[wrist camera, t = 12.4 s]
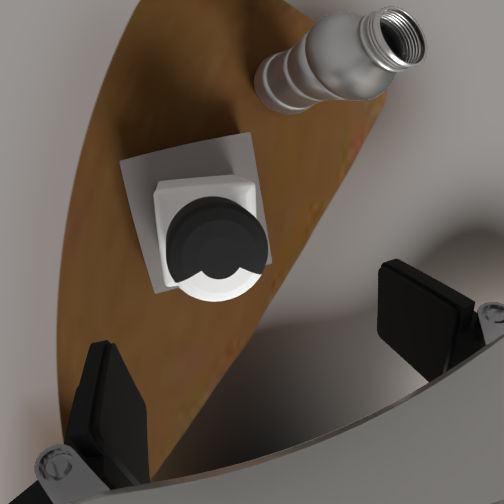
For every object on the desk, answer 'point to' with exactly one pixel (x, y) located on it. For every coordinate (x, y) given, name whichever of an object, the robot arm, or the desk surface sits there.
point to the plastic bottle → (341, 60)
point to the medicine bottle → (210, 235)
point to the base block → (180, 167)
